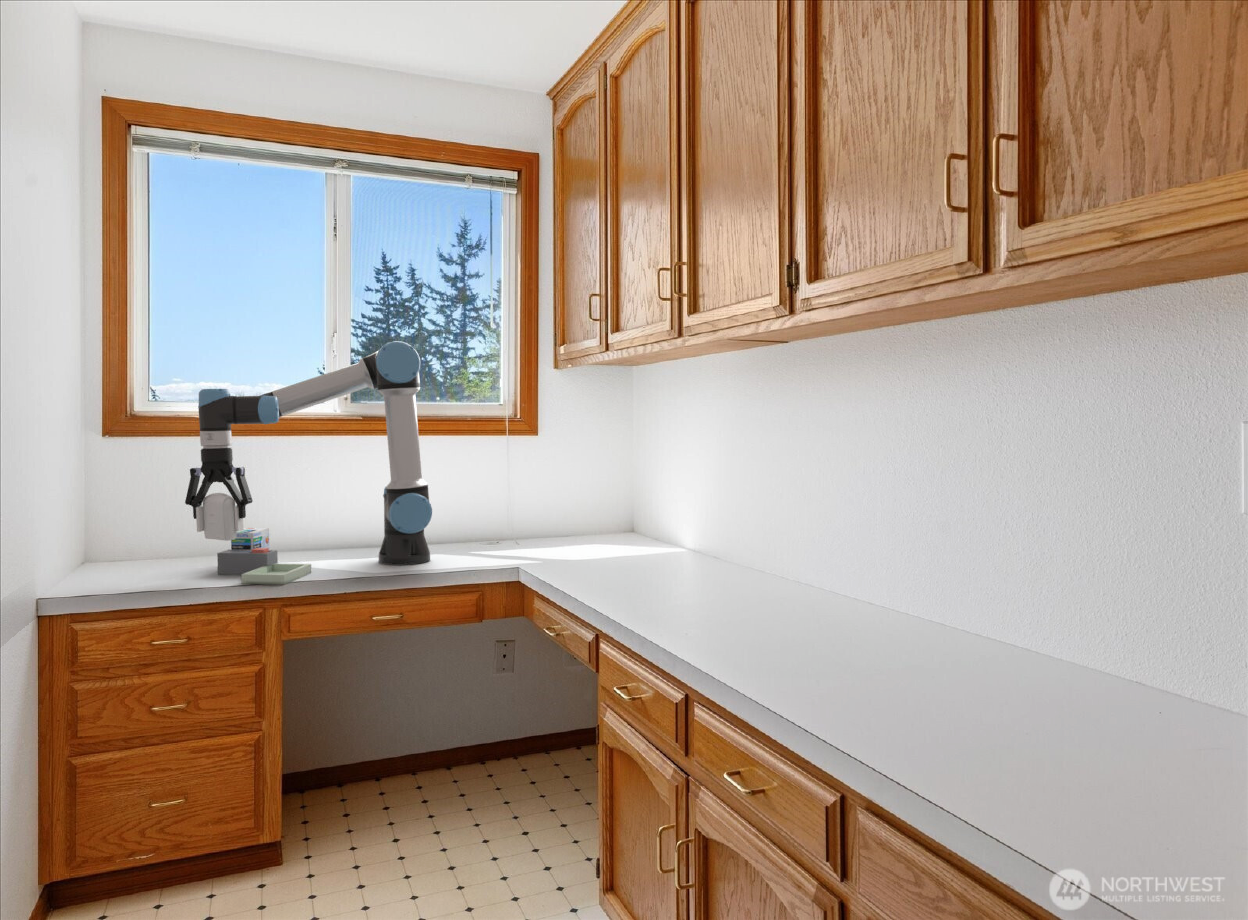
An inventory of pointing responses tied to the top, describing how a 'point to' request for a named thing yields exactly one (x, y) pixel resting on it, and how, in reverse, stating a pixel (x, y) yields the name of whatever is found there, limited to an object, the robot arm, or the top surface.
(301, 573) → the pale green tray
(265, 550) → the button
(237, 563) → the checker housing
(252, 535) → the light bulb box
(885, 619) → the top surface
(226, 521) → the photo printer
